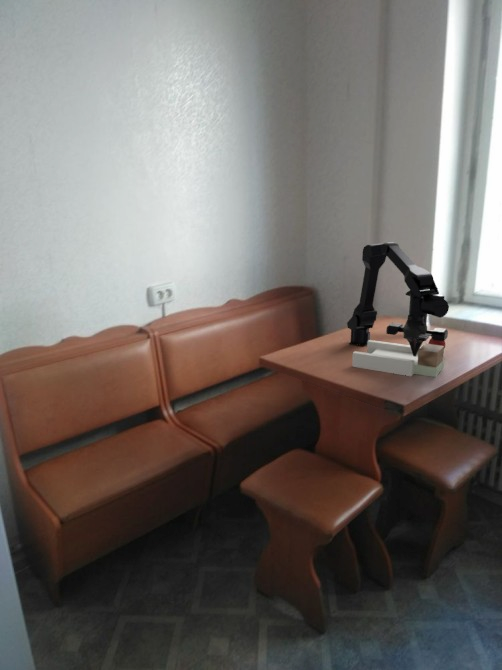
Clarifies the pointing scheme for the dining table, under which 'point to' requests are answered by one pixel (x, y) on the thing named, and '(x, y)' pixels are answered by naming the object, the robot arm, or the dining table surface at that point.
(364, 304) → the robot arm
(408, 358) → the track
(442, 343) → the onion
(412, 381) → the dining table surface
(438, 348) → the block
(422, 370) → the pad
